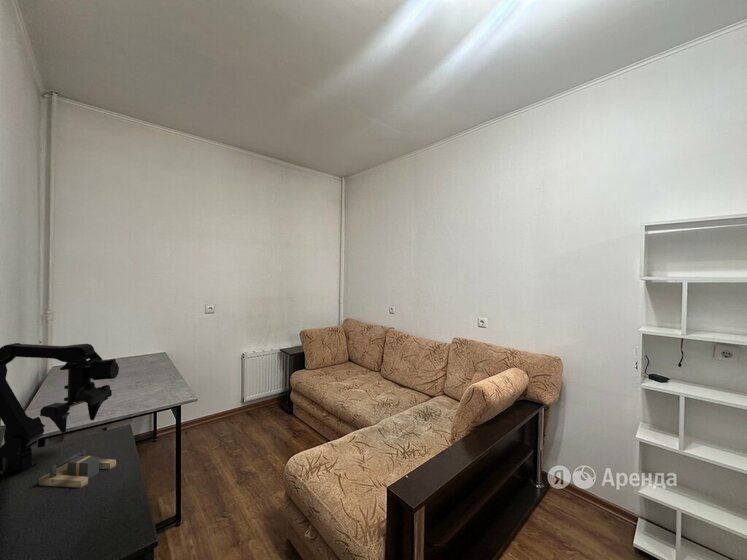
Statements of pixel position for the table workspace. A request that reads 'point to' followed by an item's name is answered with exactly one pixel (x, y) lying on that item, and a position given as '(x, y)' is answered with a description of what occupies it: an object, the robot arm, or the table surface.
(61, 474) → the wooden u-shaped holder
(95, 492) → the table surface
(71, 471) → the banded grey block
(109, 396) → the robot arm
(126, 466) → the table surface
